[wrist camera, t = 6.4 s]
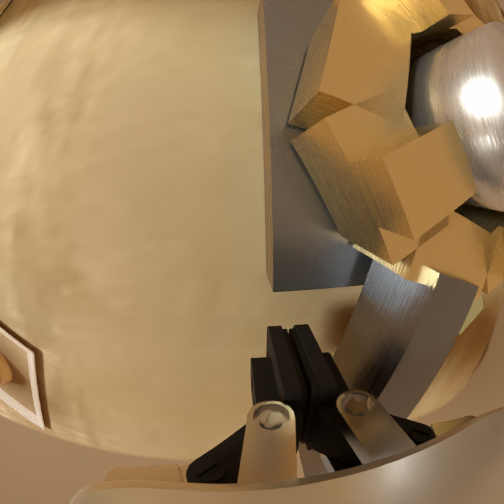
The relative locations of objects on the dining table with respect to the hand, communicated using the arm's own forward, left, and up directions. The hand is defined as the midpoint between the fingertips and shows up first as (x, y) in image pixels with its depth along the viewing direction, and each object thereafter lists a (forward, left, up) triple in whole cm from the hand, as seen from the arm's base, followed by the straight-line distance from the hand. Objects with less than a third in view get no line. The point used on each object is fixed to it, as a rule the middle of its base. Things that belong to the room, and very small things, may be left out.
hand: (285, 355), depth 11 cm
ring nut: (-4, +5, -1) cm, 7 cm away
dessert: (+6, -25, -5) cm, 26 cm away
